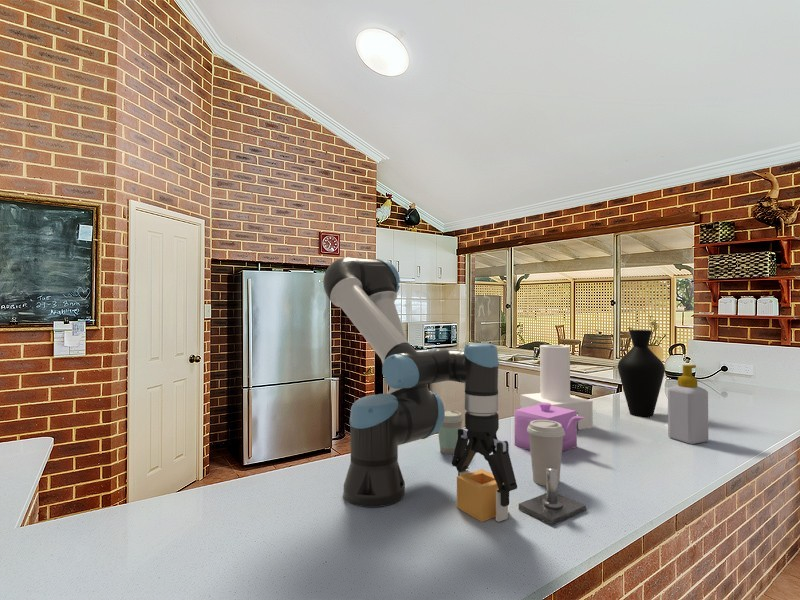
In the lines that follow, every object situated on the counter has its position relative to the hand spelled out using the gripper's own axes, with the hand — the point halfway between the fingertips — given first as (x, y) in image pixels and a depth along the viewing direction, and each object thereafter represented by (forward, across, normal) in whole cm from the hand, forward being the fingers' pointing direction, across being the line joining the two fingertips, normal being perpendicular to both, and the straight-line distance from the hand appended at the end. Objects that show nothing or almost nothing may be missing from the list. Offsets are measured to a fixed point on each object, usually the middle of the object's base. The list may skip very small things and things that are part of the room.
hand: (482, 508), depth 98 cm
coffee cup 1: (0, +34, -19) cm, 39 cm away
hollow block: (0, 0, 0) cm, 0 cm away
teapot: (0, +19, -48) cm, 52 cm away
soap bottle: (0, -3, -93) cm, 93 cm away
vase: (0, +23, -113) cm, 115 cm away
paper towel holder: (0, +35, -73) cm, 81 cm away
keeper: (0, -9, -13) cm, 16 cm away
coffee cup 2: (0, +2, -25) cm, 25 cm away
